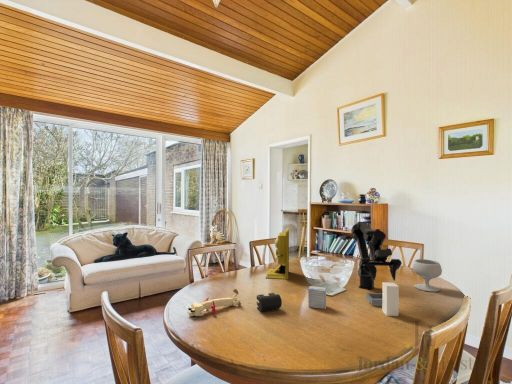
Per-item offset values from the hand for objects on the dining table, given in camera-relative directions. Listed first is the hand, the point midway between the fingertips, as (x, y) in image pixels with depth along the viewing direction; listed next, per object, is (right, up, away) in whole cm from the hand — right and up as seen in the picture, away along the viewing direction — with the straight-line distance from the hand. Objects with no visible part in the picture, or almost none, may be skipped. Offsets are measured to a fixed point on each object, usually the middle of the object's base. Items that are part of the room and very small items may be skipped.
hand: (384, 279), depth 132 cm
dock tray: (-1, -13, +5) cm, 14 cm away
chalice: (+36, -13, +26) cm, 46 cm away
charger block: (-1, -13, -7) cm, 15 cm away
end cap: (-55, -13, -3) cm, 56 cm away
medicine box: (-31, -13, 0) cm, 34 cm away
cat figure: (-79, -13, -4) cm, 81 cm away
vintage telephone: (-46, -13, +50) cm, 70 cm away
